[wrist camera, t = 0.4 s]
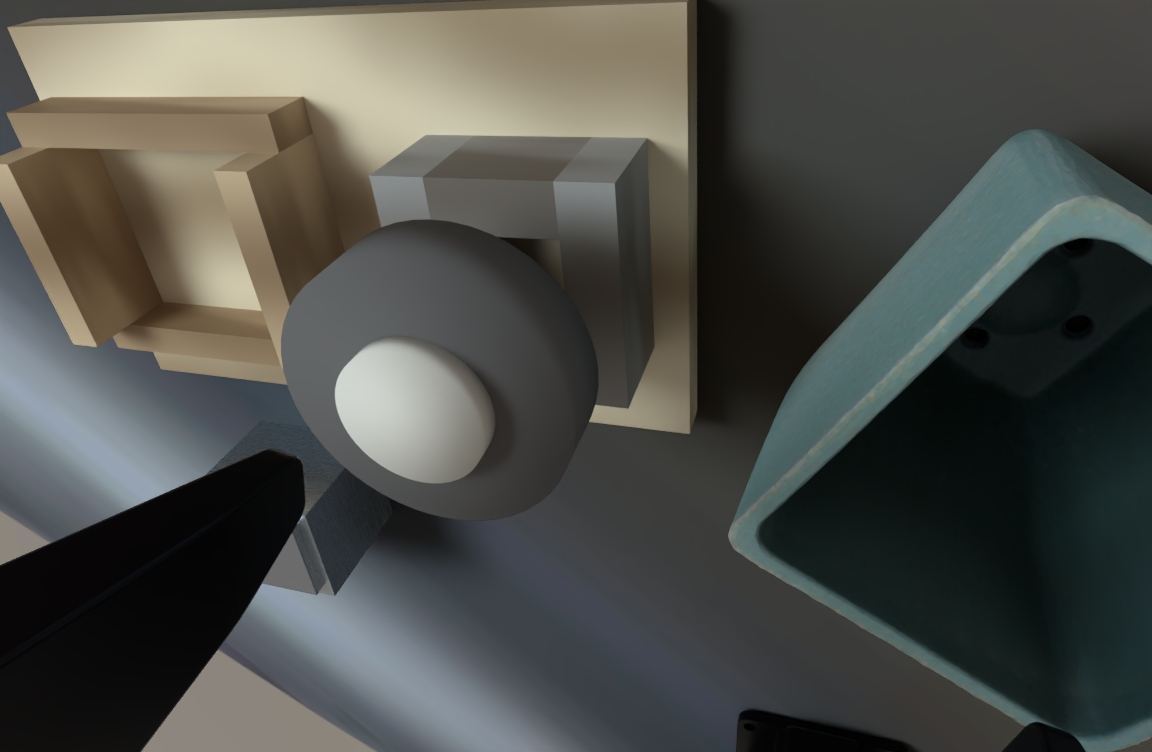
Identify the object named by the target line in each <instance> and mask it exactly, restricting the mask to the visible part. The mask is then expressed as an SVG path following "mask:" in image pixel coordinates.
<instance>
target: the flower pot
mask: <svg viewBox="0 0 1152 752" xmlns="http://www.w3.org/2000/svg"><path fill="white" fill-rule="evenodd" d="M1081 238H1087V239H1088V242H1087V243H1086V245H1085V246H1084V247H1082V248H1080V249H1076V250H1069V249H1067V248H1065V247H1064V246H1063V244H1064V243H1066V242H1069V241H1072V240H1075V239H1081ZM1075 316H1085V317H1087V318H1088V319H1089V320H1090V325H1089V326H1088V327H1087V328H1086V329H1085V330H1083V331H1081V332H1075V333H1071V332H1069V331H1068V330H1067V329H1066V327H1065V323H1066V322H1067V321H1068V320H1069V319H1070V318H1072V317H1075ZM971 328H979V329H983V330H986V332H987V335H986V337H985V338H984V339H983V340H981V341H978V342H975V341H970V340H968V339H967V338H966V337H965V332H966V331H967V330H969V329H971ZM728 536H729V541H730V542H731V544H732V547H733V548H734V549H735V550H736V551H737V552H739V553H740V554H742V555H743V556H745V557H746V558H747V559H749V560H750V561H752V562H753V563H755V564H757V565H758V566H759V567H760V568H761V569H765V570H766V571H768V572H770V573H771V574H773V575H775V576H776V577H778V578H780V579H781V580H783V581H784V582H786V583H787V584H789V585H791V586H793V587H795V588H797V589H799V590H801V591H802V592H804V593H806V594H808V595H809V596H810V597H812V598H813V599H815V600H816V601H819V602H821V603H823V604H824V605H826V606H828V607H829V608H831V609H832V610H834V611H836V612H837V613H839V614H840V615H842V616H844V617H846V618H848V619H849V620H851V621H853V622H855V623H856V624H857V625H858V626H860V627H861V628H863V629H865V630H867V631H869V632H870V633H872V634H874V635H875V636H877V637H879V638H881V639H883V640H884V641H886V642H888V643H890V644H891V645H893V646H894V647H896V648H897V649H899V650H900V651H902V652H904V653H905V654H907V655H909V656H911V657H913V658H914V659H916V660H917V661H919V662H920V663H921V664H922V665H924V666H926V667H928V668H930V669H932V670H933V671H935V672H937V673H939V674H940V675H942V676H943V677H945V678H947V679H949V680H951V681H953V682H954V683H955V684H956V685H958V686H960V687H961V688H963V689H964V690H966V691H967V692H969V693H970V694H972V695H973V696H975V697H977V698H979V699H980V700H982V701H984V702H986V703H988V704H990V705H992V706H993V707H995V708H997V709H999V710H1000V711H1002V712H1003V713H1004V714H1006V715H1008V716H1009V717H1011V718H1013V719H1014V720H1016V721H1017V722H1018V723H1020V724H1021V725H1023V726H1025V727H1026V726H1027V725H1028V724H1029V723H1033V722H1041V723H1044V724H1047V725H1050V726H1052V727H1055V728H1058V729H1061V730H1064V731H1066V732H1068V733H1070V734H1072V735H1073V736H1075V737H1076V739H1077V740H1078V741H1079V742H1080V743H1081V744H1082V746H1083V748H1084V749H1085V751H1086V752H1113V751H1116V750H1120V749H1125V748H1127V747H1130V746H1132V745H1138V744H1139V743H1140V742H1141V741H1146V740H1148V739H1150V738H1152V195H1151V194H1149V193H1148V192H1146V191H1145V190H1143V189H1141V188H1140V187H1138V186H1137V185H1135V184H1134V183H1132V182H1131V181H1129V180H1128V179H1126V178H1125V177H1123V176H1121V175H1120V174H1118V173H1117V172H1115V171H1114V170H1112V169H1111V168H1109V167H1108V166H1106V165H1105V164H1103V163H1102V162H1100V161H1099V160H1097V159H1096V158H1094V157H1093V156H1091V155H1090V154H1088V153H1087V152H1085V151H1084V150H1082V149H1081V148H1079V147H1078V146H1076V145H1075V144H1073V143H1072V142H1070V141H1069V140H1067V139H1065V138H1064V137H1062V136H1060V135H1058V134H1055V133H1053V132H1050V131H1047V130H1042V129H1033V130H1026V131H1023V132H1020V133H1018V134H1016V135H1014V136H1013V137H1011V138H1010V139H1009V140H1007V141H1006V142H1005V143H1004V144H1003V145H1002V146H1001V147H1000V148H999V149H998V150H997V151H996V152H995V153H994V154H993V155H992V157H991V158H990V159H989V160H988V161H987V162H986V163H985V165H984V166H983V167H982V168H981V169H980V170H979V171H978V173H977V174H976V175H975V176H974V177H973V178H972V179H971V180H970V182H969V183H968V184H967V185H966V186H965V187H964V188H963V190H962V191H961V192H960V193H959V194H958V195H957V196H956V198H955V199H954V200H953V201H952V202H951V203H950V204H949V205H948V207H947V208H946V209H945V210H944V211H943V212H942V213H941V215H940V216H939V217H938V218H937V219H936V220H935V221H934V222H933V223H932V225H931V226H930V227H929V228H928V229H927V230H926V231H925V232H924V234H923V235H922V236H921V237H920V238H919V239H918V240H917V241H916V242H915V244H914V245H913V246H912V247H911V248H910V249H909V250H908V251H907V252H906V254H905V255H904V256H903V257H902V258H901V259H900V260H899V261H898V262H897V263H896V265H895V266H894V267H893V268H892V269H891V270H890V271H889V272H888V273H887V275H886V276H885V277H884V278H883V279H882V280H881V281H880V282H879V283H878V284H877V286H876V287H875V288H874V289H873V290H872V291H871V292H870V293H869V294H868V295H867V296H866V298H865V299H864V300H863V301H862V302H861V303H860V304H859V305H858V306H857V307H856V308H855V309H854V311H853V312H852V313H851V314H850V315H849V316H848V317H847V318H846V319H845V320H844V321H843V322H842V323H841V325H840V326H839V327H838V328H837V329H836V330H835V331H834V332H833V333H832V334H831V335H830V336H829V337H828V339H827V340H826V341H825V342H824V343H823V344H822V345H821V346H820V347H819V348H818V350H817V351H816V352H815V353H814V354H813V356H812V357H811V358H810V359H809V361H808V362H807V363H806V364H805V366H804V367H803V368H802V370H801V371H800V373H799V374H798V375H797V377H796V378H795V380H794V381H793V383H792V385H791V386H790V388H789V390H788V391H787V393H786V395H785V397H784V399H783V401H782V403H781V406H780V408H779V410H778V412H777V414H776V416H775V419H774V421H773V424H772V426H771V428H770V431H769V433H768V435H767V438H766V440H765V442H764V445H763V447H762V450H761V452H760V454H759V457H758V459H757V462H756V464H755V467H754V469H753V472H752V474H751V476H750V479H749V482H748V484H747V487H746V489H745V492H744V494H743V497H742V499H741V502H740V504H739V507H738V510H737V512H736V515H735V518H734V520H733V523H732V525H731V528H730V530H729V534H728Z"/></svg>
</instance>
